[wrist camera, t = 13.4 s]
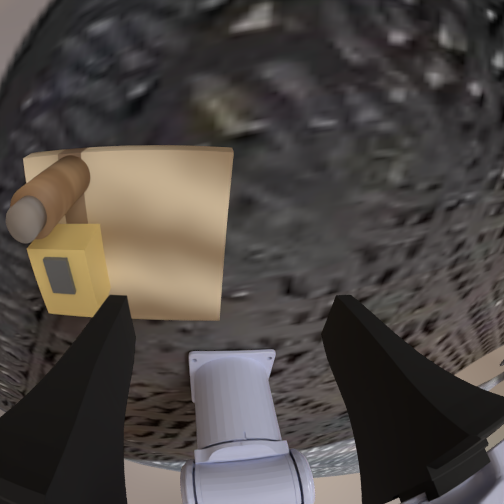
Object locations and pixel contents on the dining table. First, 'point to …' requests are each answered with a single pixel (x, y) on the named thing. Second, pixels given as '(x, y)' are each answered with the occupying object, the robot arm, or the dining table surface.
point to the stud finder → (71, 269)
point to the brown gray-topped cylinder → (47, 199)
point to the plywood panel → (156, 223)
